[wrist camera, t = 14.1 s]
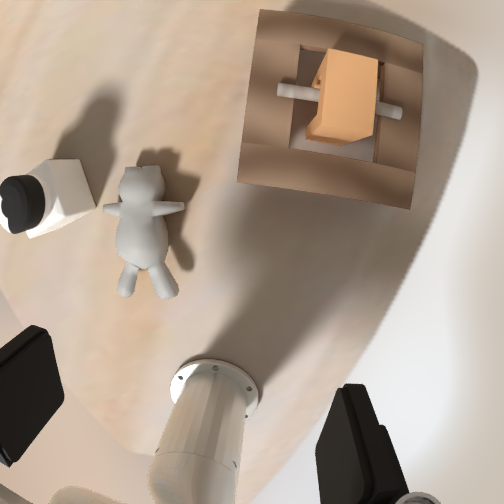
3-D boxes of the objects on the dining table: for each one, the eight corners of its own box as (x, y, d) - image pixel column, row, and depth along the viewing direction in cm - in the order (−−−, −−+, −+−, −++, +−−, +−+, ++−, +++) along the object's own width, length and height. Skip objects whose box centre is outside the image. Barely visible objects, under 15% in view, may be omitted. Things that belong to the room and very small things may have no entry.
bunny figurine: (176, 161, 31) (178, 305, 33) (188, 167, 36) (190, 293, 38) (97, 168, 31) (101, 300, 33) (117, 172, 36) (120, 290, 38)
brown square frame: (382, 201, 34) (415, 211, 25) (244, 179, 35) (235, 182, 26) (395, 65, 30) (427, 40, 21) (262, 40, 30) (259, 3, 21)
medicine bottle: (80, 158, 35) (18, 158, 23) (97, 208, 36) (38, 225, 25) (44, 181, 36) (-17, 190, 24) (60, 228, 37) (1, 249, 26)
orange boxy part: (341, 145, 32) (372, 134, 21) (305, 139, 32) (321, 124, 21) (347, 91, 30) (378, 59, 20) (311, 84, 30) (328, 48, 20)
